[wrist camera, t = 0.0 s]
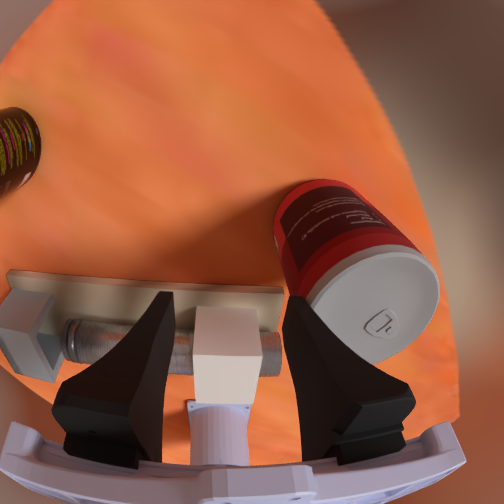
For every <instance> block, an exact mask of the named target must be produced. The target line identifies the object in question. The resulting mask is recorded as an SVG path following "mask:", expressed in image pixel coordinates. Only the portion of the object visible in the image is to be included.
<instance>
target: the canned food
mask: <svg viewBox="0 0 504 504" xmlns="http://www.w3.org/2000/svg"><path fill="white" fill-rule="evenodd" d="M273 236H274V241H275V245H276V248H277V252H278V255H279V258H280V262H281V265H282V269H283V272H284V276H285V279H286V283H287V286H288V290H289V293H290V296H303V298H304V299H305V300H306V301H307V302H308V304H309V305H310V306H311V307H312V309H313V310H314V311H315V312H316V314H317V315H318V316H319V317H320V318H321V320H322V321H323V322H324V323H325V324H326V325H327V326H328V327H329V329H330V330H331V331H332V332H333V333H334V334H335V335H336V336H337V337H338V338H339V339H340V340H341V341H342V342H343V343H345V344H346V345H347V346H348V347H349V348H350V349H352V350H353V351H354V352H355V353H356V354H358V355H359V356H360V357H362V358H363V359H364V360H366V361H367V362H369V363H370V364H375V363H378V362H381V361H383V360H386V359H388V358H390V357H392V356H394V355H395V354H397V353H399V352H400V351H402V350H403V349H405V348H406V347H407V346H409V345H410V344H411V343H412V342H413V341H414V340H415V339H416V338H417V337H418V336H419V335H420V334H421V333H422V332H423V331H424V329H425V328H426V327H427V325H428V324H429V322H430V321H431V319H432V317H433V315H434V313H435V311H436V308H437V304H438V301H439V294H440V285H439V279H438V276H437V274H436V272H435V270H434V268H433V267H432V266H431V264H430V262H429V261H428V260H427V259H426V258H425V257H424V255H423V254H422V253H421V252H420V251H419V250H418V249H417V248H416V247H415V246H414V244H413V243H412V242H411V241H410V240H409V239H408V238H407V237H406V236H405V235H404V234H403V233H402V232H400V231H399V230H398V229H397V228H396V227H395V226H394V225H393V224H392V223H391V222H390V221H389V220H388V219H387V218H386V217H385V216H384V215H383V214H382V213H380V212H379V211H378V210H377V209H376V208H375V207H374V206H373V205H372V204H371V203H369V202H368V201H367V200H366V199H365V198H364V197H363V196H362V195H360V194H359V193H358V192H357V191H356V190H355V189H354V188H352V187H350V186H349V185H347V184H345V183H342V182H339V181H336V180H328V179H319V180H312V181H308V182H305V183H303V184H301V185H299V186H297V187H295V188H294V189H293V190H292V191H290V192H289V193H288V194H287V195H286V196H285V198H284V199H283V200H282V202H281V203H280V205H279V207H278V209H277V212H276V215H275V218H274V222H273Z"/></svg>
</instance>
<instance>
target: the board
mask: <svg viewBox="0 0 504 504" xmlns="http://www.w3.org/2000/svg"><path fill="white" fill-rule="evenodd" d="M6 276H7V279H8V282H9V285H10V287H11V290H12V289H20V290H27V291H34V292H42V293H50V294H52V296H53V299H54V304H53V305H52V307H51V309H50V310H49V312H48V314H47V316H46V317H45V319H44V321H43V323H42V324H41V326H40V328H39V330H38V332H39V333H44V334H49V335H55V336H61V331H62V328H63V325H64V323H65V322H66V320H67V319H70V318H71V319H83V320H86V321H95V322H103V323H112V324H122V325H133V326H134V325H135V324H136V323H137V321H138V320H139V319H140V317H141V316H142V315H143V313H144V312H145V311H146V309H147V308H148V307H149V305H150V304H151V302H152V301H153V299H154V298H155V296H156V295H157V293H158V292H159V291H170V292H173V295H174V309H175V322H176V328H175V329H187V330H195V320H196V309H197V306H209V307H236V308H256V311H257V319H258V326H259V332H277V327H278V322H279V318H280V313H281V308H282V303H283V299H284V290H283V287H275V286H243V285H218V284H196V283H177V282H159V281H143V280H127V279H113V278H100V277H87V276H75V275H64V274H53V273H42V272H32V271H22V270H13V269H11V270H10V271H9V272H8V273H7V274H6Z"/></svg>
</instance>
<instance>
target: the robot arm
mask: <svg viewBox="0 0 504 504" xmlns="http://www.w3.org/2000/svg"><path fill="white" fill-rule="evenodd" d="M175 328H176V322H175V309H174V295H173V292H170V291H159V292H158V293H157V295H156V296H155V298H154V299H153V301H152V302H151V304H150V305H149V307H148V308H147V309H146V311H145V312H144V313H143V315H142V316H141V317H140V319H139V320H138V321H137V323H136V324H135V325H134V326H133V327H132V328H131V330H130V331H129V332H128V333H127V334H126V335H125V336H124V337H123V338H122V339H121V340H120V341H119V342H118V343H117V344H116V345H115V346H114V347H113V348H112V349H111V350H110V351H109V352H107V353H106V354H105V355H104V356H103V357H102V358H100V359H99V360H98V361H96V362H95V363H93V364H92V365H91V366H89V367H88V368H86V369H85V370H83V371H82V372H80V373H78V374H76V375H75V376H73V377H71V378H69V379H67V380H65V381H63V382H62V384H61V386H60V388H59V390H58V392H57V395H56V398H55V401H54V404H53V407H52V414H53V416H54V418H55V419H56V421H57V422H58V423H59V424H60V426H61V427H62V428H63V429H64V431H65V432H66V437H65V441H64V444H61V443H58V442H55V441H51V440H48V439H45V438H43V436H42V435H41V434H40V433H39V432H38V431H37V430H35V429H33V428H31V427H29V426H26V425H23V424H20V423H17V422H15V421H12V422H11V424H10V427H9V430H8V433H7V436H6V439H5V443H4V446H3V449H2V452H1V456H0V470H1V471H2V472H3V473H5V474H6V475H8V476H9V477H11V478H12V479H14V480H15V481H17V482H18V483H20V484H21V485H23V486H24V487H26V488H28V489H30V490H33V491H35V492H38V493H40V494H43V495H45V496H48V497H50V498H53V499H56V500H58V501H61V502H64V503H67V504H383V503H386V502H389V501H392V500H394V499H397V498H400V497H402V496H405V495H407V494H410V493H412V492H415V491H417V490H419V489H422V488H424V487H426V486H429V485H431V484H433V483H436V482H437V481H439V480H441V479H442V478H444V477H445V476H447V475H448V474H450V473H451V472H453V471H454V470H456V469H457V468H459V467H460V466H461V465H463V464H464V463H466V458H465V456H464V453H463V451H462V449H461V447H460V444H459V442H458V440H457V438H456V435H455V433H454V431H453V429H452V426H451V424H450V422H449V421H446V422H443V423H440V424H437V425H435V426H432V427H430V428H428V429H427V430H425V431H424V432H423V433H422V434H421V435H420V436H419V437H416V438H413V439H410V440H407V441H405V440H404V438H403V435H402V432H401V431H403V430H404V427H403V424H402V421H403V420H404V419H405V418H406V417H407V416H408V415H409V414H410V413H411V411H412V410H413V409H414V407H415V404H416V400H415V397H414V395H413V393H412V391H411V389H410V387H409V385H408V384H407V383H405V382H403V381H401V380H399V379H397V378H394V377H392V376H390V375H388V374H387V373H385V372H383V371H381V370H380V369H378V368H376V367H375V366H373V365H372V364H370V363H369V362H367V361H366V360H364V359H363V358H362V357H360V356H359V355H358V354H356V353H355V352H354V351H353V350H352V349H350V348H349V347H348V346H347V345H346V344H345V343H343V342H342V341H341V340H340V339H339V338H338V337H337V336H336V335H335V334H334V333H333V332H332V331H331V330H330V329H329V327H328V326H327V325H326V324H325V323H324V322H323V321H322V320H321V318H320V317H319V316H318V315H317V314H316V312H315V311H314V310H313V309H312V307H311V306H310V305H309V304H308V302H307V301H306V300H305V299H304V298H303V296H289V299H288V304H287V308H286V313H285V317H284V321H283V326H282V333H283V342H284V348H285V352H286V356H287V360H288V364H289V368H290V372H291V376H292V379H293V383H294V387H295V392H296V399H297V406H298V414H299V423H300V434H301V447H302V462H297V463H287V464H275V465H259V466H250V461H249V450H248V439H247V424H248V419H249V414H250V409H251V404H206V403H196V401H193V400H189V401H187V409H188V416H189V423H190V430H191V448H190V465H180V464H169V463H162V426H163V407H164V393H165V386H166V381H167V376H168V371H169V366H170V361H171V356H172V351H173V347H174V339H175Z"/></svg>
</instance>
